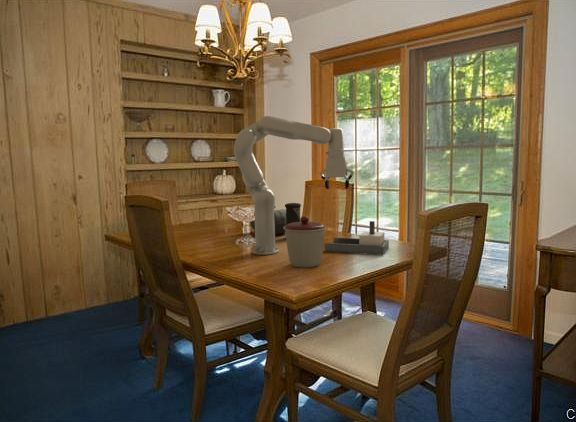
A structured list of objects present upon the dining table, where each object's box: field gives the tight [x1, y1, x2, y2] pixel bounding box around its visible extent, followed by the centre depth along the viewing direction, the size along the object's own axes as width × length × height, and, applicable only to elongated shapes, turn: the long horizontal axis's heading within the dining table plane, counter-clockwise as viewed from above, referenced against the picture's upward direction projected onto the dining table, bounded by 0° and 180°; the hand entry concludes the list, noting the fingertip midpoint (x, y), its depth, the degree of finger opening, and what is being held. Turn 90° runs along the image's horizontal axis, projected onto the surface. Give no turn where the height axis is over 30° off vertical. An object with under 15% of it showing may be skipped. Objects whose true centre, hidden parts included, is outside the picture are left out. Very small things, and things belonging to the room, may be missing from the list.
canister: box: [283, 215, 327, 269], centre depth 189 cm, size 18×18×21 cm
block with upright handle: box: [358, 220, 386, 246], centre depth 214 cm, size 11×10×13 cm
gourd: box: [249, 205, 286, 236], centre depth 266 cm, size 25×25×17 cm
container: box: [284, 202, 302, 225], centre depth 250 cm, size 9×9×20 cm
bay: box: [324, 236, 390, 256], centre depth 218 cm, size 16×28×4 cm, turn 68°
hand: (337, 188), depth 220 cm, fingers open, 9 cm apart
